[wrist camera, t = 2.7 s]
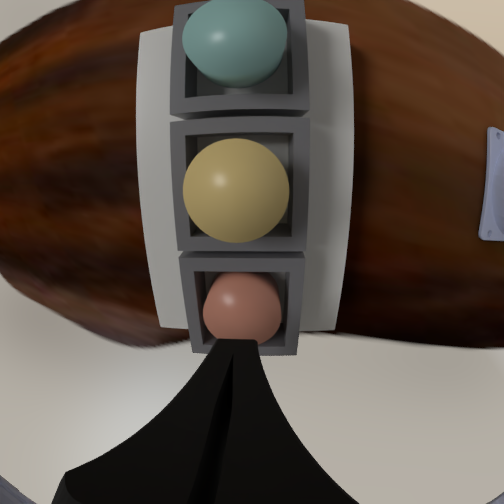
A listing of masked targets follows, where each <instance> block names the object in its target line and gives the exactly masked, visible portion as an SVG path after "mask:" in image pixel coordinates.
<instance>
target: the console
mask: <svg viewBox="0 0 504 504" xmlns="http://www.w3.org/2000/svg"><path fill="white" fill-rule="evenodd" d="M264 1H266V2H268V3H269V4H271V5H272V6H273V7H275V8H276V9H277V10H278V11H279V12H280V14H281V15H282V17H283V19H284V20H285V23H286V27H287V39H286V44H285V48H284V52H283V57H282V61H281V63H280V65H279V67H278V69H277V70H276V71H275V73H274V74H273V75H272V76H271V77H269V78H268V79H267V80H265V81H263V82H262V83H259V84H257V85H254V86H251V87H247V88H227V87H223V86H219V85H217V84H215V83H213V82H211V81H210V80H208V79H207V78H206V77H205V76H204V75H203V74H202V73H201V72H200V71H199V69H198V68H197V67H196V66H195V65H194V64H193V62H192V61H191V60H190V59H189V58H188V56H187V54H186V53H185V50H184V48H183V43H182V35H183V30H184V27H185V25H186V23H187V21H188V19H189V18H190V17H191V15H192V14H193V13H194V12H195V11H196V10H197V9H198V8H200V7H201V6H203V5H204V4H206V3H208V2H210V1H203V2H196V3H189V4H183V5H178V6H175V9H174V20H173V26H169V27H164V28H159V29H155V30H150V31H146V32H142V33H140V43H139V54H138V69H137V92H136V139H137V163H138V179H139V192H140V203H141V213H142V222H143V230H144V238H145V245H146V252H147V258H148V265H149V271H150V277H151V282H152V288H153V293H154V298H155V303H156V308H157V313H158V317H159V322H160V326H161V327H168V328H182V329H189V335H190V341H191V346H192V352H193V353H204V354H208V353H209V351H210V350H211V348H212V346H213V345H214V343H215V341H216V340H217V338H216V337H215V336H214V335H213V334H212V333H211V332H210V331H209V330H208V328H207V326H206V324H205V322H204V318H203V308H204V304H205V301H206V298H207V295H208V293H209V290H210V287H211V284H212V282H213V280H214V278H215V277H216V275H217V274H218V273H219V272H268V273H269V274H270V275H271V276H272V277H273V278H274V279H275V281H276V283H277V285H278V289H279V296H280V305H281V323H280V326H279V328H278V330H277V331H276V333H275V334H274V335H273V336H272V337H271V338H270V339H268V340H267V341H265V342H263V343H261V344H258V351H259V356H261V355H262V356H275V355H276V356H280V355H281V356H282V355H297V346H298V337H299V331H322V330H335V325H336V320H337V314H338V309H339V303H340V297H341V290H342V283H343V277H344V269H345V262H346V253H347V245H348V235H349V225H350V213H351V200H352V184H353V160H354V101H353V78H352V63H351V51H350V41H349V32H348V25H344V24H338V23H332V22H324V21H316V20H306V19H305V8H304V0H264ZM233 138H238V139H247V140H251V141H254V142H256V143H259V144H261V145H263V146H264V147H266V148H267V149H269V150H270V151H271V152H272V153H273V154H274V155H275V156H276V157H277V158H278V159H279V161H280V162H281V164H282V165H283V167H284V169H285V171H286V174H287V177H288V182H289V200H288V204H287V208H286V210H285V213H284V215H283V216H282V218H281V220H280V221H279V222H278V224H277V225H276V226H275V227H274V228H273V229H272V230H271V231H270V232H268V233H267V234H265V235H264V236H262V237H260V238H258V239H255V240H252V241H249V242H243V243H230V242H224V241H221V240H218V239H215V238H213V237H211V236H209V235H208V234H206V233H205V232H203V231H202V230H201V229H200V228H199V227H198V226H197V225H196V224H195V223H194V222H193V220H192V219H191V217H190V215H189V214H188V212H187V209H186V207H185V203H184V198H183V183H184V178H185V174H186V172H187V169H188V167H189V165H190V164H191V162H192V160H193V159H194V158H195V157H196V155H197V154H199V153H200V152H201V151H202V150H203V149H204V148H206V147H207V146H209V145H211V144H213V143H215V142H218V141H221V140H225V139H233Z"/></svg>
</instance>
